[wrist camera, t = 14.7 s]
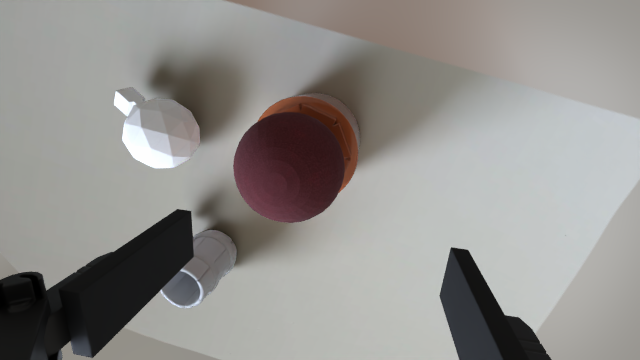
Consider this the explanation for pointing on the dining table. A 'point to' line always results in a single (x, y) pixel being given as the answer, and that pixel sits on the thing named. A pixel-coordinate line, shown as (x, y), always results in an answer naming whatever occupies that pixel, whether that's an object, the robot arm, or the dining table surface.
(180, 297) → the mug
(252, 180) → the decorative ball
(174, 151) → the perfume bottle
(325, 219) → the dining table surface
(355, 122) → the pedestal
